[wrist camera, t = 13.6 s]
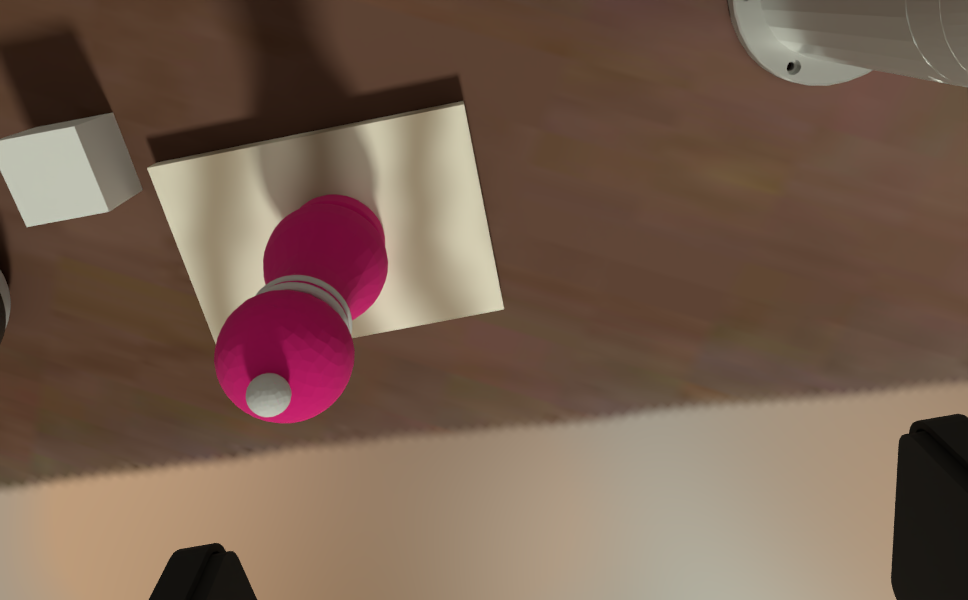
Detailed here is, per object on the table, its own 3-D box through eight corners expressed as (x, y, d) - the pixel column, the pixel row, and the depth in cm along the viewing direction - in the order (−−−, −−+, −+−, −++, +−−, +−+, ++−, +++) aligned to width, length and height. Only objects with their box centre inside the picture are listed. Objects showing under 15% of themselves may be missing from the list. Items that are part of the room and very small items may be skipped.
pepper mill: (259, 248, 46) (134, 421, 28) (322, 162, 44) (230, 288, 26) (351, 310, 48) (291, 509, 30) (415, 231, 46) (392, 392, 28)
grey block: (113, 112, 44) (74, 126, 39) (143, 189, 46) (109, 211, 41) (36, 127, 44) (-13, 142, 39) (68, 203, 46) (26, 226, 41)
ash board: (463, 100, 44) (463, 104, 43) (502, 300, 50) (503, 309, 48) (156, 162, 45) (147, 168, 44) (229, 352, 51) (223, 362, 49)
